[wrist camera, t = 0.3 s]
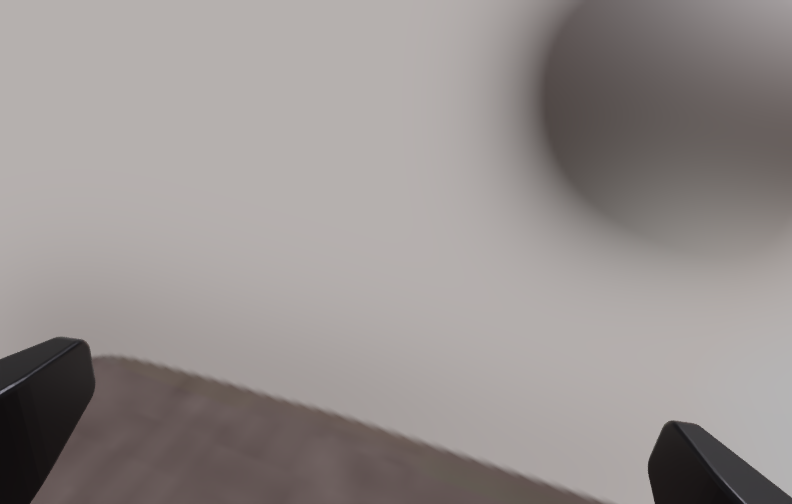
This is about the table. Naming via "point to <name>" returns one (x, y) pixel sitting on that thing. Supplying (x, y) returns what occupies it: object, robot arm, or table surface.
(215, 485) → the table surface
